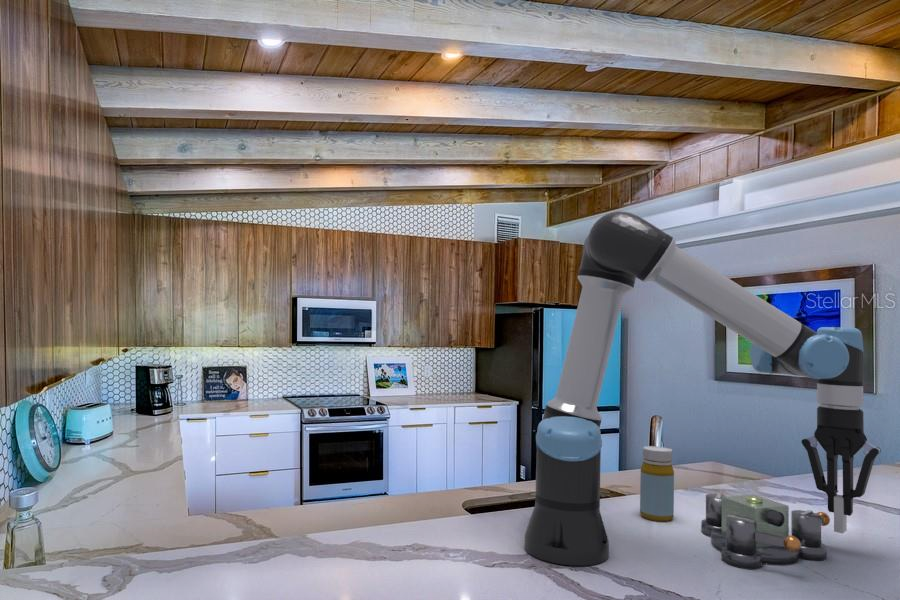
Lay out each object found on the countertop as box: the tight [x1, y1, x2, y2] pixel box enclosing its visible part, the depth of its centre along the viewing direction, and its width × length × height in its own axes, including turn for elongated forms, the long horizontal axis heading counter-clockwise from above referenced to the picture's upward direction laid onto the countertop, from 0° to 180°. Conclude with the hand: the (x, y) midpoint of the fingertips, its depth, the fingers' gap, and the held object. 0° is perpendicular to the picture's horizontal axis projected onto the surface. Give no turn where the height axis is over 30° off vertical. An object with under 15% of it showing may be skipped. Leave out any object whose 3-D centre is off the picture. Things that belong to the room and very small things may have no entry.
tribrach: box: [700, 493, 828, 570], centre depth 114 cm, size 22×20×10 cm
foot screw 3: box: [790, 509, 831, 547], centre depth 112 cm, size 12×5×6 cm, turn 129°
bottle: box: [639, 445, 675, 523], centre depth 131 cm, size 7×7×15 cm
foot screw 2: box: [726, 515, 801, 554], centre depth 103 cm, size 12×5×6 cm, turn 49°
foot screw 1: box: [705, 492, 726, 526], centre depth 124 cm, size 12×5×6 cm, turn 154°
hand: (840, 530), depth 113 cm, fingers closed
